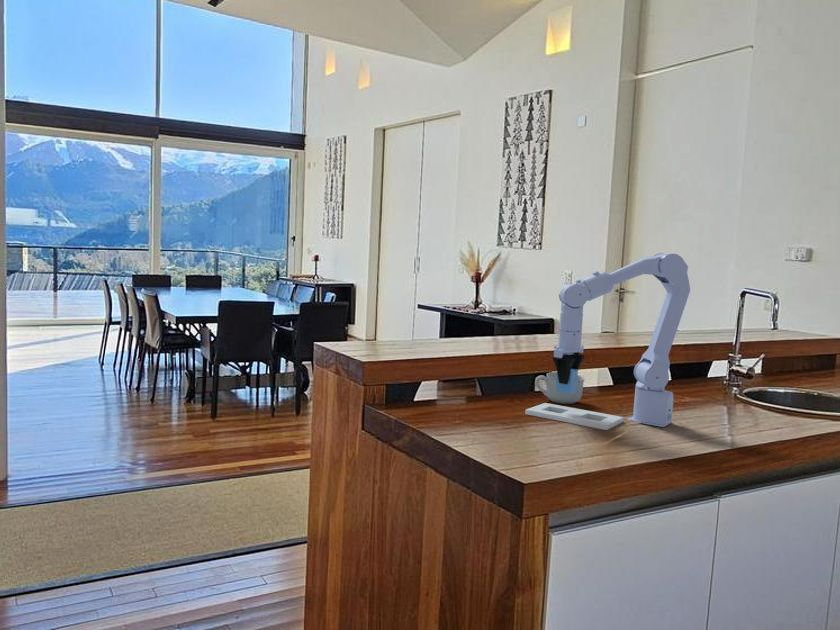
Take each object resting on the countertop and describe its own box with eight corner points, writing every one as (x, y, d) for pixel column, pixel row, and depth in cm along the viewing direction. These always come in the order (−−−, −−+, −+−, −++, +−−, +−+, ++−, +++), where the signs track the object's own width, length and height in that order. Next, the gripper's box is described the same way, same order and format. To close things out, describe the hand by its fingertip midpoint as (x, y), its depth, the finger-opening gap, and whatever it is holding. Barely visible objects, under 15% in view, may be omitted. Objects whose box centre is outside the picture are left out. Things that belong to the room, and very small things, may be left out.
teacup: (579, 400, 210) (581, 373, 209) (584, 408, 199) (586, 380, 199) (532, 396, 211) (534, 370, 211) (534, 404, 201) (536, 376, 200)
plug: (576, 392, 186) (577, 369, 185) (570, 394, 183) (571, 371, 182) (562, 389, 188) (563, 367, 188) (555, 391, 185) (557, 369, 184)
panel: (623, 423, 183) (623, 417, 183) (606, 431, 174) (607, 425, 173) (544, 408, 196) (545, 402, 196) (525, 415, 186) (525, 409, 186)
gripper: (567, 327, 192) (563, 376, 194) (544, 330, 180) (540, 383, 182) (592, 330, 188) (588, 380, 189) (570, 334, 176) (566, 387, 178)
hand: (566, 382), depth 185 cm, fingers closed on plug, 4 cm apart
